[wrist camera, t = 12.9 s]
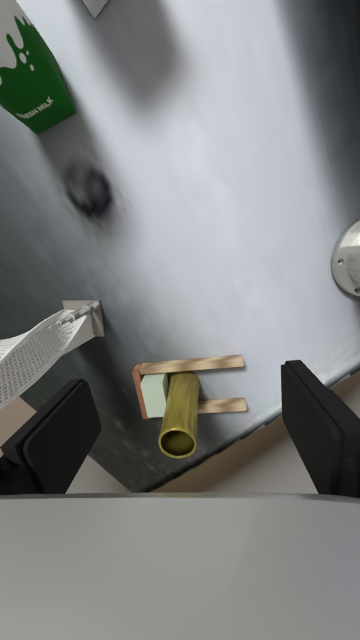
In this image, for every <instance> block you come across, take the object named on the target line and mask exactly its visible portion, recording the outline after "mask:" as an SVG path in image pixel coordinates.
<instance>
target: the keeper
mask: <svg viewBox="0 0 360 640" xmlns="http://www.w3.org/2000/svg"><path fill="white" fill-rule="evenodd" d="M140 385H141V390H142V394H143V399H144V403H145V408H146V412H147V416H148V418H150V417H164V413H165V408H166V403H167V397H168V391H169V383H168V377H167V372H166V373H153V374H145V375H144V378H143V380H142V382H141V384H140Z"/></svg>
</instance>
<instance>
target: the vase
mask: <svg viewBox="0 0 360 640" xmlns="http://www.w3.org/2000/svg"><path fill="white" fill-rule="evenodd" d="M199 387H200V383H199V380H198V378H197V376H196V375H195V374H193V373H192V372H189V371H179V372H176V373H174V374H173V375H172V376H171V378H170V381H169V391H168V397H167V403H166V408H165V413H164V417H163V422H162V427H161V432H160V436H159V446H160V448H161V450H162V451H163V452H164V453H165V454H166V455H168V456H170V457H173V458H185V457H188V456H190V455H191V454H193V453H194V451H195V449H196V442H197V407H198V396H199Z"/></svg>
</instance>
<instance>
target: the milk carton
mask: <svg viewBox="0 0 360 640" xmlns="http://www.w3.org/2000/svg"><path fill="white" fill-rule="evenodd" d="M0 105H1V106H2V107H3V108H4V109H6V110H7V111H8V112H9V113H11V114H12V115H13V116H15V117H16V118H17V119H18V120H20V121H21V122H22V123H24V124H25V125H26V126H27V127H29V128H30V129H31V130H32V131H34V132H35V133H36V134H39V133H41V132H43V131H44V130H46V129H48V128H50V127H51V126H53V125H55V124H57V123H58V122H60V121H62V120H64V119H65V118H67V117H69V116H71V115H72V114H74V113H76V111H75V108H74V106H73V104H72V101H71V99H70V96H69V94H68V91H67V89H66V86H65V84H64V81H63V79H62V76H61V74H60V71H59V69H58V66H57V64H56V61H55V59H54V56H53V54H52V52H51V51H50V49H49V48H48V46H47V45H46V43H45V41H44V40H43V38H42V37H41V35H40V34H39V33H38V31H37V30H36V28H35V27H34V25H33V24H32V22H31V21H30V20H29V18H28V17H27V15H26V14H25V13H24V11H23V10H22V9H21V7H20V6H19V4H18V3H17V2H16V0H0Z"/></svg>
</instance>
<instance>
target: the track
mask: <svg viewBox="0 0 360 640" xmlns="http://www.w3.org/2000/svg"><path fill="white" fill-rule="evenodd" d="M241 366H244V361H243V358H242V356H241V355H232V356H221V357H209V358H198V359H186V360H175V361H163V362H152V363H140V364H137V365H136V366H135V368H134V370H133V372H132V374H133V378H134V382H135V387H136V391H137V395H138V400H139V404H140V408H141V412H142V417H143V419H149V418H148V416H147V412H146V408H145V403H144V399H143V394H142V390H141V385H140V384H141V382H142V380H143V378H144V375H145V374H153V373H166V372H178V371H191V370H203V369H216V368H228V367H241ZM236 411H247V406H246V403H245V400H244V398H234V399H218V400H202V401H198V407H197V414H198V413H217V412H236Z"/></svg>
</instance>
